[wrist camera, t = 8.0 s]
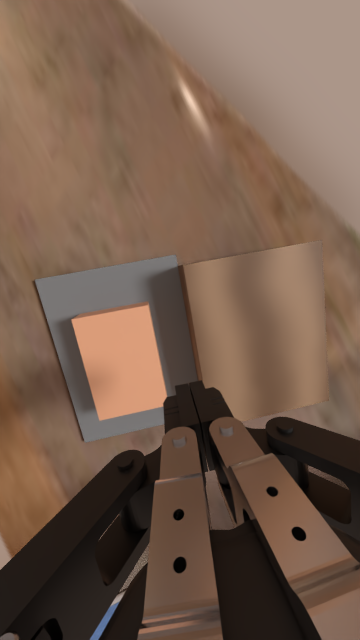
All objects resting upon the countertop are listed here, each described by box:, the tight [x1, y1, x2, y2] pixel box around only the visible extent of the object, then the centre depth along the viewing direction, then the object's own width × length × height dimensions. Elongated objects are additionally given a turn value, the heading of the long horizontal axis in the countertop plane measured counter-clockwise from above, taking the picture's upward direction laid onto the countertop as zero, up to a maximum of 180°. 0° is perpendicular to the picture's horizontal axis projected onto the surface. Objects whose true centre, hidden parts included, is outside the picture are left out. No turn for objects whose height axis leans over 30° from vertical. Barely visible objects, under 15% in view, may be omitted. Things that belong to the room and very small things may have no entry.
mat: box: [35, 255, 198, 443], centre depth 22 cm, size 12×16×1 cm
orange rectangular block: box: [71, 301, 167, 421], centre depth 21 cm, size 6×9×2 cm, turn 10°
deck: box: [178, 240, 329, 422], centre depth 21 cm, size 11×14×4 cm
